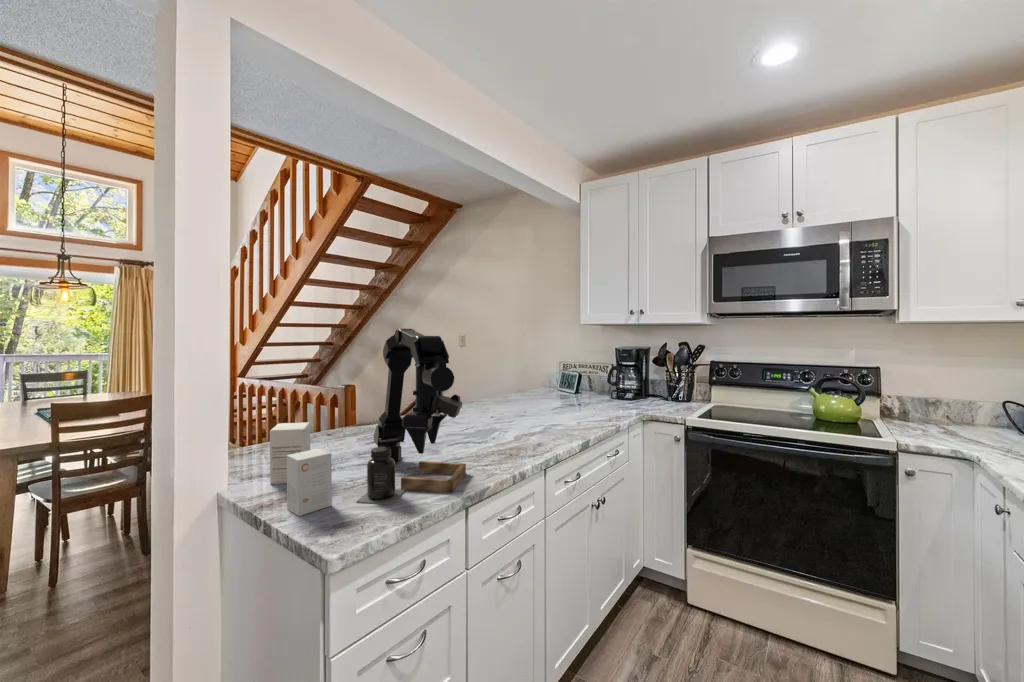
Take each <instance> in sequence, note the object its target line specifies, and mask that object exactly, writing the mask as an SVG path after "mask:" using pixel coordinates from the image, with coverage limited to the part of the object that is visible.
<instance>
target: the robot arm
mask: <svg viewBox="0 0 1024 682" xmlns="http://www.w3.org/2000/svg"><path fill="white" fill-rule="evenodd" d="M382 348H383V349H382V357H383V361H384V363H385V365H386V366H387V368H388V374H387V385H386V386H387V387H386V394H385V405H384V411H383V413H382V414H381V415H380V416H379V418H378V421H377V425H376V427H375V429H374V432H373V433H374V434H373V443H374V444H375V445H376V446H377V447H389V448H391V456H390V457H391V458H392V459H393V460H394V461H395V465H396V464H397V463H398V462H400V461H401V460H402V459H403V457H402V446H401V443H404V442H405V436H406V432H407V433H408V435H409V437H410V438H411V441H412V442H413V444H414V446H415V449H416V451H417V453H418V454H422V455H423V454H424V451H425V446H426V440H427V437H428V439H429V443H430V444H431V445H432V444H435V443H436V441H437V437H438V433H439V428H440V426H441V422H442V421H443V420H445V419H446V418H447V416H448V417H450V418H453V419H454V418H456V417H457V416H459V414H460V411H461V409H462V408H463V402H462V401H461V396H460V395H458V394H456V393H454V394H453V395H452V396H451V397H450V396H445V395H443V392H446V391H448V390H449V389H451V387H452V386H453V384H454V383H455V376H454V372H453V371H452V369H451V368H450V367H448V366H447V364H449V363H450V360H449V358H450V354H449V353H448V351H447V348H446V344H445V343H444V340H442V337H441V336H440V335H424V334H423V333H419V332H418V331H416V330H415V329H412V328H398V329H396V330H395V331H394V334H393V335H392V336H390V337H388V338H387V339H386V341H385V342H384V346H383V347H382ZM413 359H414V362H415V363H414V366H415V389H414V390H413V391H412V395H413V396H415V406H414V407H413V408H412V411H410V412H408V413H407V414H405V415H404V416H403V417H401V408H402V407H401V406H402V397H403V391H404V390H403V389H404V379H405V373H406V372H407V370H408V369H409V368H410V367H411V364H412V360H413Z"/></svg>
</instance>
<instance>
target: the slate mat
mask: <svg viewBox="0 0 1024 682" xmlns="http://www.w3.org/2000/svg"><path fill="white" fill-rule="evenodd" d="M405 492H406V490H402V489H398V488H397V489H396V488H395V494H394V496H393V497H391V498H388V499H385V500H372V499H370V498H369V497H368V495H367V492H366V493H365V494H364V495H362V496H361V497H360V498H359V499H358V500H356V503H358V504H359V503H361V504H372V505H373V504H374V505H375V504H376V505H387V506H389V505H390V506H392V505H393V504H394V503H395V502H396V501H397V500H398V499H399V498H400V497H401V496H402V495H403V494H404V493H405Z"/></svg>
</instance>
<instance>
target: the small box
mask: <svg viewBox="0 0 1024 682" xmlns="http://www.w3.org/2000/svg"><path fill="white" fill-rule="evenodd" d="M332 474H333V473H332V453H331V452H330V451H328V450H324V449H322V448H315V449H310V450H309V451H304V452H300V453H295V454H290V455H287V483H286V501H287V502H286V503H287V504H286V505H287V506H286V507H287V510H288V511H290V512H292V513H293V514H295V515H296V516H298V517H301V516H304V515H307V514H310V513H313V512H317V511H319V510H323V509H325V508H328V507H332V503H333V499H332V498H333V496H332V495H333V494H332V493H333V492H332V489H333V488H332V486H333V485H332V484H333V483H332V482H333V481H332Z"/></svg>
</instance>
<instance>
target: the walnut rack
mask: <svg viewBox="0 0 1024 682" xmlns="http://www.w3.org/2000/svg"><path fill="white" fill-rule="evenodd" d="M466 467H467V463H465V462H464V463H462V462H443V461H425V460H424V461H421V460H420V461H419V462H418V473H421V474H439V475H440V474H443V475H451V476H450V477H449V479H447V478H446V479H445V478H433V477H432V478H431V477H429V478H428V477H416V476H415V477H414V476H401V477H400V490H405V491H418V492H419V491H420V492H421V491H423V492H437V493H451V494H452V493H453V492H454V491H455V489H456V488H457V486H458V485H459V483H460V482H461V481H462V480H463V478H464V477H465V475H466V473H467V472H466V471H467V470H466V469H467V468H466Z"/></svg>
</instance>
